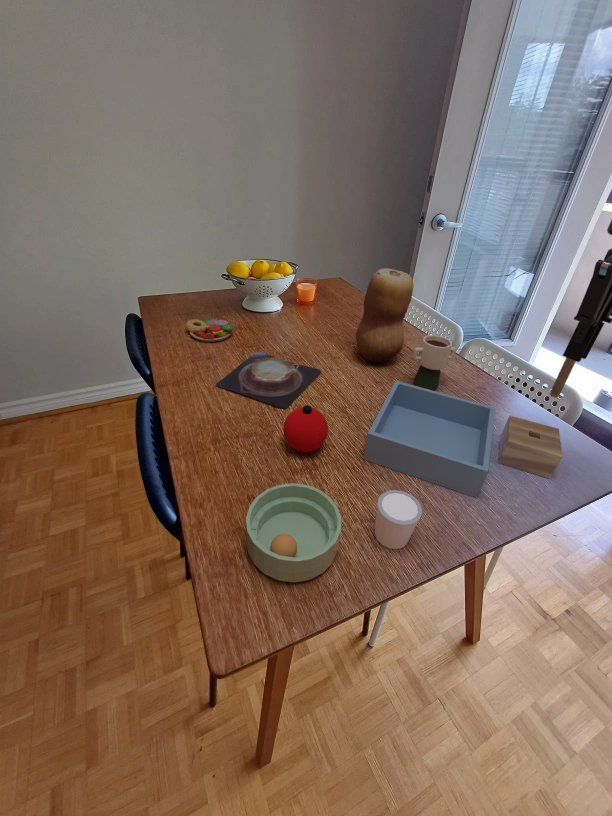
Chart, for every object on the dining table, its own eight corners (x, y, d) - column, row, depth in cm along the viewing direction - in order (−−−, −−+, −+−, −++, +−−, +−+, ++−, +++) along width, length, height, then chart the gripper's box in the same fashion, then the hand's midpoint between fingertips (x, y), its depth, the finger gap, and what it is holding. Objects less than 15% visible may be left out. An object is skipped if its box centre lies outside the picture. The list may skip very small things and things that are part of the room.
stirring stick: (558, 400, 74) (604, 305, 63) (548, 397, 74) (592, 303, 64) (557, 396, 75) (602, 303, 65) (548, 393, 75) (591, 301, 65)
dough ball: (289, 572, 58) (290, 555, 56) (265, 561, 59) (265, 544, 57) (300, 550, 61) (302, 534, 59) (277, 540, 62) (278, 524, 60)
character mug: (438, 378, 108) (451, 334, 101) (450, 392, 102) (465, 347, 95) (400, 379, 106) (411, 334, 99) (410, 394, 101) (422, 348, 93)
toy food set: (182, 330, 123) (181, 320, 121) (221, 321, 130) (220, 312, 128) (201, 347, 114) (200, 336, 112) (241, 337, 121) (241, 327, 119)
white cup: (385, 558, 62) (394, 530, 58) (362, 524, 67) (369, 496, 63) (421, 544, 64) (431, 516, 60) (396, 512, 69) (404, 484, 65)
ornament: (283, 461, 78) (284, 421, 72) (282, 432, 85) (283, 393, 79) (328, 461, 79) (333, 421, 73) (323, 432, 86) (327, 394, 80)
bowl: (315, 601, 55) (319, 577, 52) (229, 560, 60) (227, 535, 56) (349, 526, 66) (354, 502, 63) (274, 496, 70) (274, 472, 67)
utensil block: (549, 479, 78) (562, 456, 75) (497, 463, 81) (508, 440, 78) (547, 450, 86) (559, 428, 82) (500, 436, 89) (509, 415, 85)
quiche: (258, 352, 114) (258, 339, 112) (322, 371, 107) (323, 358, 105) (213, 385, 98) (212, 371, 96) (284, 410, 92) (285, 396, 89)
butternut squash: (402, 371, 110) (423, 281, 95) (354, 368, 110) (367, 278, 95) (394, 348, 121) (412, 265, 107) (350, 345, 121) (362, 261, 106)
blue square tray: (476, 498, 73) (488, 471, 69) (362, 459, 80) (367, 433, 76) (485, 431, 90) (495, 407, 86) (390, 404, 96) (395, 380, 93)
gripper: (640, 201, 62) (572, 339, 76) (598, 205, 55) (532, 357, 68) (698, 210, 57) (615, 356, 71) (661, 215, 50) (576, 377, 63)
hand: (574, 356), depth 69 cm, fingers closed on stirring stick, 1 cm apart
